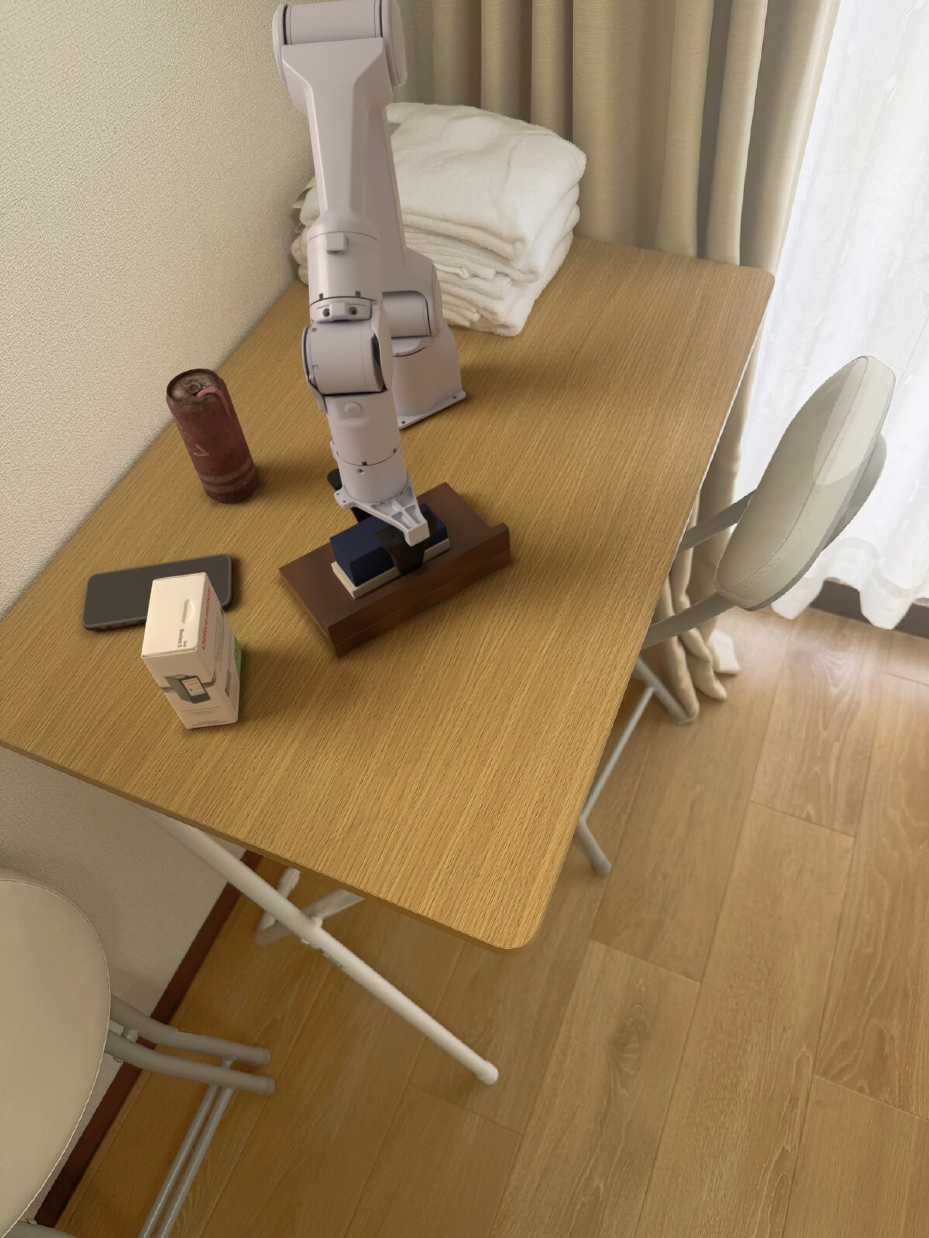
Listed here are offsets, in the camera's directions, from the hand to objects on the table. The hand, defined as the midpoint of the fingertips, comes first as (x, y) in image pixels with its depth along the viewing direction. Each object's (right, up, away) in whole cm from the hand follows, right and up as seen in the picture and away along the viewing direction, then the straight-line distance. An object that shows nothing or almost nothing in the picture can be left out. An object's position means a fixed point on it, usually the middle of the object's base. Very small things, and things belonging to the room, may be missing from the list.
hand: (391, 548), depth 90 cm
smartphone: (-24, -5, +4) cm, 24 cm away
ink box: (-16, -14, -4) cm, 21 cm away
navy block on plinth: (0, -1, +1) cm, 2 cm away
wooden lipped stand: (0, -2, +3) cm, 3 cm away
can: (-19, +8, +13) cm, 24 cm away
